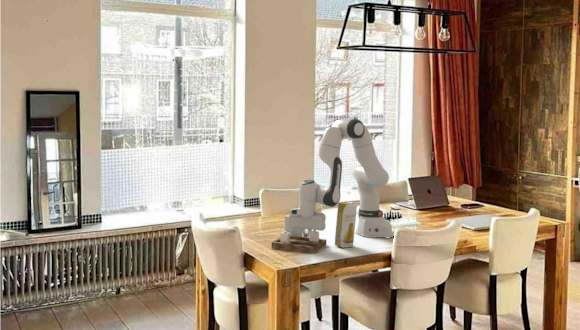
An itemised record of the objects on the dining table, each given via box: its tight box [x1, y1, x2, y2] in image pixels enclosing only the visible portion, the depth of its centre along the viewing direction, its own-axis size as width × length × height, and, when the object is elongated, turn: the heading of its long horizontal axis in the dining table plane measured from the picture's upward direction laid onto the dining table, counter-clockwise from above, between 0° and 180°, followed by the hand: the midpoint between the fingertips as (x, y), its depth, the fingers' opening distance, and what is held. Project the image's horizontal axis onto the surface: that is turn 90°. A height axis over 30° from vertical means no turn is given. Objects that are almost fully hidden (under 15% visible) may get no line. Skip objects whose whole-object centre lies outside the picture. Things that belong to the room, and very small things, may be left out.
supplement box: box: [284, 214, 303, 237], centre depth 353 cm, size 7×7×13 cm
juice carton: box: [334, 201, 358, 249], centre depth 338 cm, size 9×8×24 cm
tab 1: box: [279, 230, 290, 244], centre depth 335 cm, size 4×4×7 cm
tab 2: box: [308, 230, 320, 242], centre depth 338 cm, size 4×4×7 cm
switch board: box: [271, 235, 327, 254], centre depth 337 cm, size 24×18×3 cm
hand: (306, 236), depth 340 cm, fingers closed
